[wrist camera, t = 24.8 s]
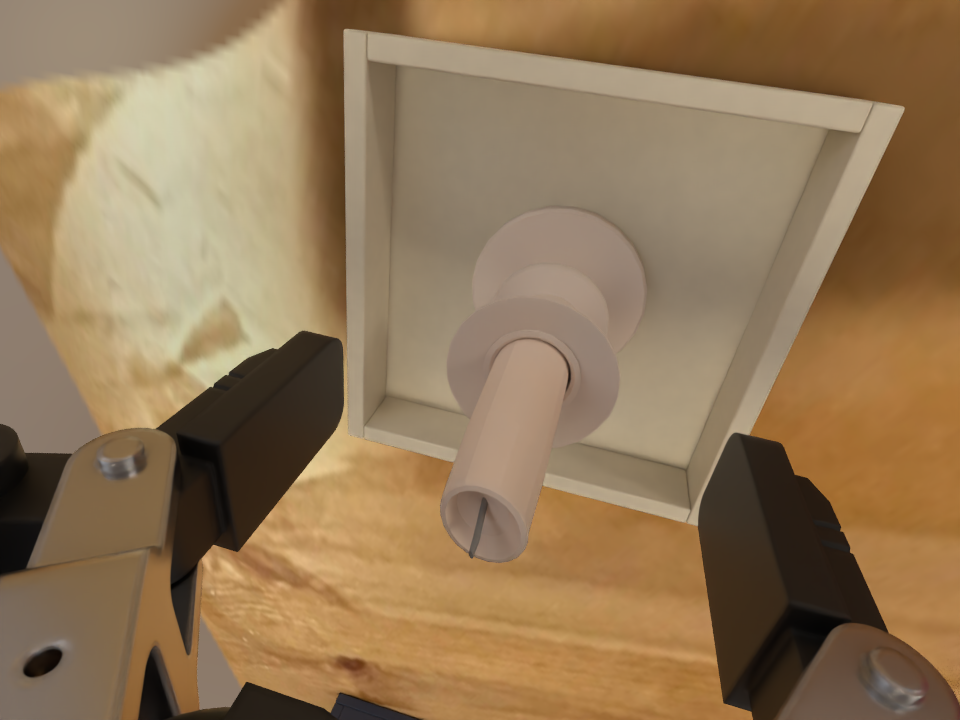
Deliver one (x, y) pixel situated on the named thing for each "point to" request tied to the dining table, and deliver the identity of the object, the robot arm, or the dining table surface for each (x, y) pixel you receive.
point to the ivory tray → (616, 197)
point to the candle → (535, 365)
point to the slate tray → (363, 710)
